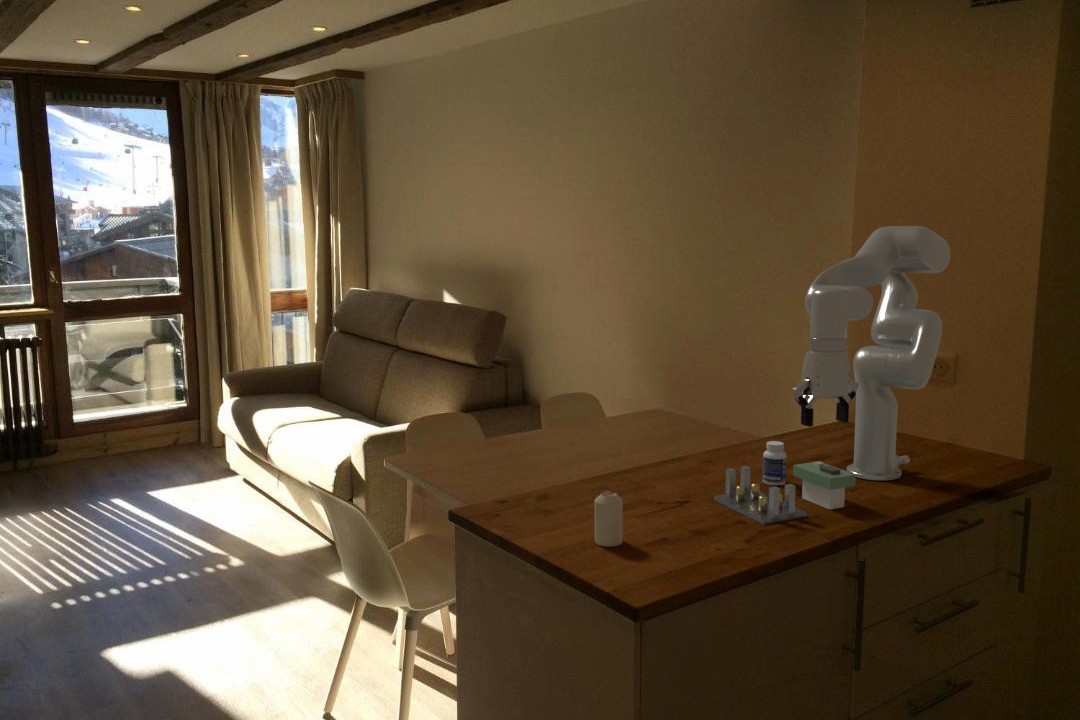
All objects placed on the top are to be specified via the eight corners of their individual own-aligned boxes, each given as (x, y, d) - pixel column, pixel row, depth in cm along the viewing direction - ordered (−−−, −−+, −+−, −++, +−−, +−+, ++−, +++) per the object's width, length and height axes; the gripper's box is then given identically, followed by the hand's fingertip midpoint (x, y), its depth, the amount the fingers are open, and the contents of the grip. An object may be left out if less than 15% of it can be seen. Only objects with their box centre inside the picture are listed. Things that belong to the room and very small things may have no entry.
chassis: (754, 493, 207) (754, 464, 205) (806, 516, 190) (807, 484, 189) (713, 500, 202) (714, 470, 201) (763, 524, 186) (764, 491, 185)
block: (816, 495, 204) (816, 474, 203) (844, 506, 196) (844, 484, 195) (802, 498, 203) (802, 476, 202) (829, 509, 194) (830, 487, 194)
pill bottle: (786, 486, 212) (787, 446, 210) (763, 485, 213) (764, 445, 211) (785, 479, 217) (786, 440, 215) (762, 479, 218) (763, 439, 216)
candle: (592, 537, 180) (592, 489, 178) (620, 536, 180) (619, 488, 179) (596, 547, 174) (596, 498, 173) (625, 546, 175) (624, 496, 173)
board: (817, 471, 205) (818, 457, 205) (855, 485, 194) (855, 471, 194) (793, 475, 203) (793, 461, 202) (829, 490, 192) (830, 475, 191)
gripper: (846, 341, 201) (843, 416, 203) (783, 346, 194) (781, 423, 196) (871, 345, 194) (867, 423, 196) (807, 350, 187) (804, 430, 189)
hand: (824, 423), depth 196 cm, fingers open, 9 cm apart
